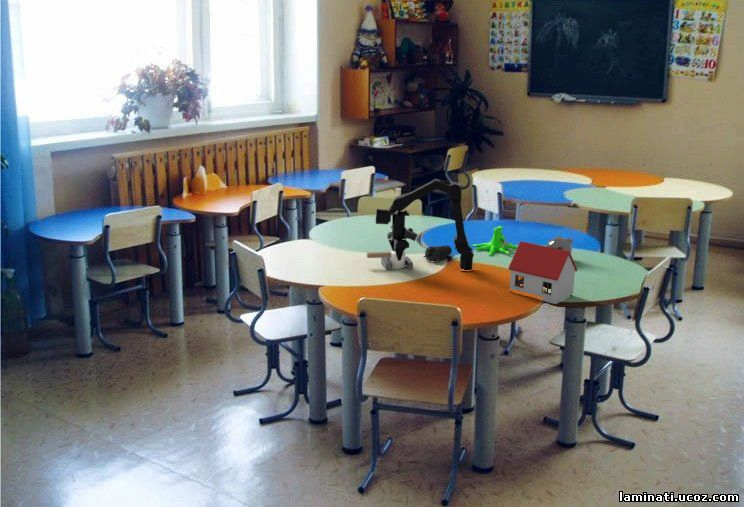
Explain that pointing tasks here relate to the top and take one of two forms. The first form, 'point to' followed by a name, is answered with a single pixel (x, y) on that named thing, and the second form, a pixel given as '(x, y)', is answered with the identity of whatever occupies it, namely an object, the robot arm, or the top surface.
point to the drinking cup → (437, 252)
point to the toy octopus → (496, 243)
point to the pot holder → (386, 262)
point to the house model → (543, 271)
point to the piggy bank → (561, 243)
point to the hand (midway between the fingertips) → (397, 258)
